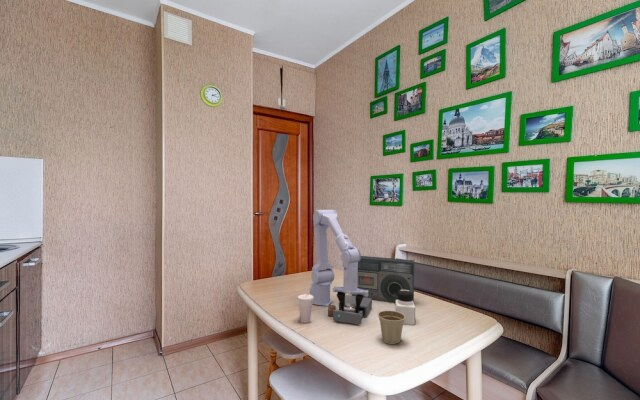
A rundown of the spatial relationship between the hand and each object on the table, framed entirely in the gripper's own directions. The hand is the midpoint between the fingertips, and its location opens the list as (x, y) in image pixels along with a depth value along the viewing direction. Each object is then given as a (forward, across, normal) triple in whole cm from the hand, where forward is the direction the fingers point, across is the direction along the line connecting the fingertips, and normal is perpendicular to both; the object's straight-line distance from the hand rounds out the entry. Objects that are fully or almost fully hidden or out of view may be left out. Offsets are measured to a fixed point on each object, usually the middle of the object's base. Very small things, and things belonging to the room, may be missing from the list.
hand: (350, 311), depth 118 cm
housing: (+3, 0, +10) cm, 11 cm away
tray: (+2, 0, 0) cm, 2 cm away
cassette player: (+3, +8, +30) cm, 31 cm away
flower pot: (+3, +18, -12) cm, 22 cm away
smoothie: (+3, -16, -9) cm, 19 cm away
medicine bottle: (+3, +21, +7) cm, 22 cm away
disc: (-1, 0, 0) cm, 1 cm away
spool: (+3, -8, 0) cm, 9 cm away
